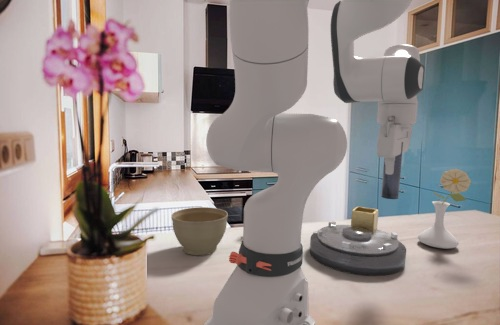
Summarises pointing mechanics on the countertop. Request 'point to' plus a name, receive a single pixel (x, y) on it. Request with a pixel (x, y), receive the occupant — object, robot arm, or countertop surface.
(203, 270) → the countertop surface
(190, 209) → the planter bowl
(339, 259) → the housing
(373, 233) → the grey round disc
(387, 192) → the pin
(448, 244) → the flower in vase
